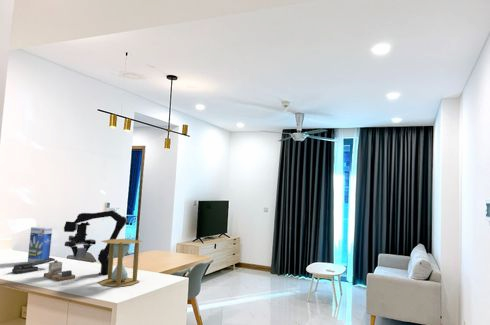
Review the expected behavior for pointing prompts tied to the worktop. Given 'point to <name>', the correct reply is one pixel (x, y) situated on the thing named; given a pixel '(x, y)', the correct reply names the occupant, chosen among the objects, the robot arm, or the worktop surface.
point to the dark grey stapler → (29, 266)
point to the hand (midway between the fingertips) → (79, 256)
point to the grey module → (80, 253)
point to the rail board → (58, 272)
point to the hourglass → (120, 273)
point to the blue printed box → (39, 244)
